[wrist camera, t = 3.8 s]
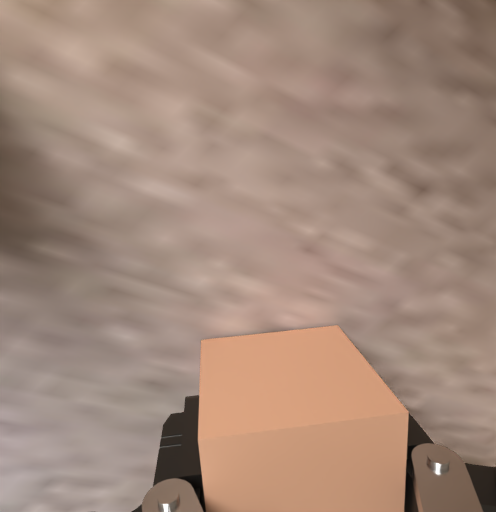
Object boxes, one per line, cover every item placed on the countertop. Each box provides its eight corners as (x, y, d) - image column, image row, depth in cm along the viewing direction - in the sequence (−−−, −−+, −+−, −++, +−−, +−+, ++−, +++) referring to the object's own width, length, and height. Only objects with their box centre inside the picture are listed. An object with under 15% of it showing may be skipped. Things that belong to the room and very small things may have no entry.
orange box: (201, 339, 13) (197, 441, 8) (337, 325, 14) (409, 414, 9) (216, 495, 15) (222, 656, 10) (338, 477, 15) (399, 623, 10)
